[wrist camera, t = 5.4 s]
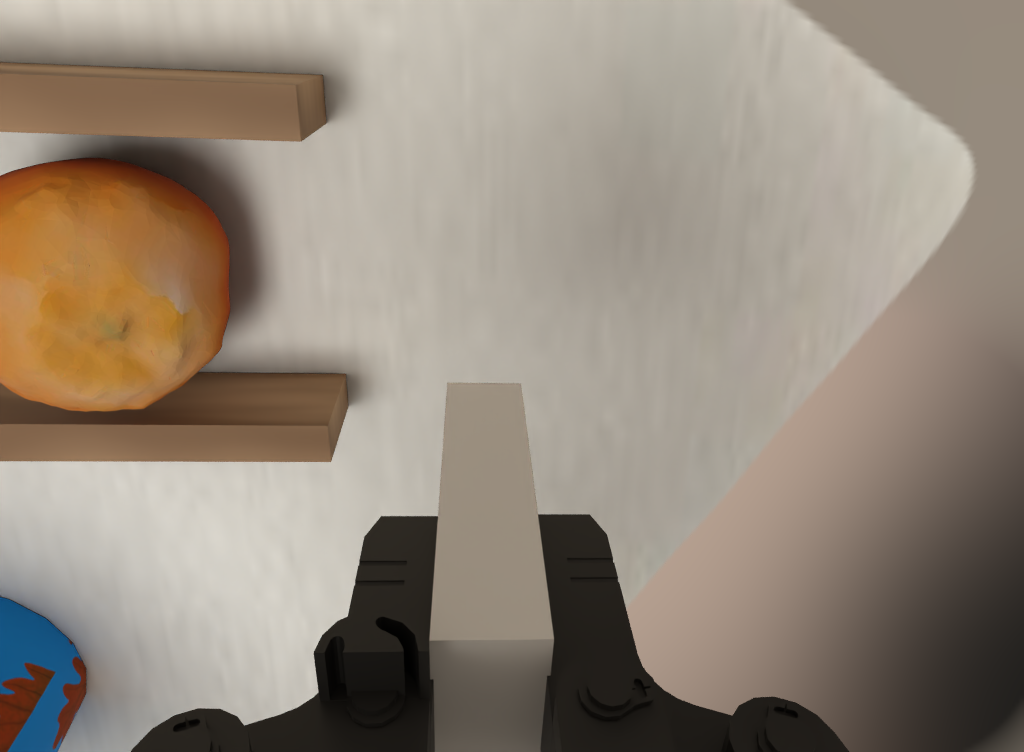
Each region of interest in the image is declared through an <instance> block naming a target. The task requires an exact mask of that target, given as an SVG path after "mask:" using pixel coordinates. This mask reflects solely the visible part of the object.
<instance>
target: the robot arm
mask: <svg viewBox="0 0 1024 752" xmlns="http://www.w3.org/2000/svg"><path fill="white" fill-rule="evenodd" d="M314 659H315V667H316V675H317V682H318V690H319V693H318V694H317V695H316V696H315V697H313V698H312V699H310V700H309V701H307V702H306V703H304V704H303V705H301V706H300V707H298V708H295V709H293V710H291V711H288V712H286V713H283V714H281V715H278V716H274V717H271V718H268V719H265V720H261V721H258V722H255V723H252V724H248V725H245V726H244V725H243V724H242V722H241V721H240V720H239V718H238V717H237V716H235V715H232V714H230V713H228V712H226V711H223V710H221V709H195V710H192V711H188V712H185V713H181V714H178V715H175V716H173V717H171V718H170V719H168V720H166V721H165V722H163V723H161V724H160V725H158V726H156V727H155V728H153V729H152V730H151V731H150V732H149V733H148V734H147V735H146V736H145V737H144V738H143V739H142V740H141V741H140V742H139V743H138V744H137V745H136V746H135V747H134V748H133V749H132V751H131V752H849V751H848V750H847V748H846V747H845V746H844V744H843V743H842V742H841V741H840V739H839V738H838V737H837V735H836V734H835V732H833V731H832V729H830V728H829V727H828V726H827V725H826V724H825V723H824V722H823V721H822V720H821V719H820V718H819V717H818V716H817V715H816V714H814V713H813V712H811V711H809V710H808V709H806V708H804V707H802V706H801V705H799V704H797V703H795V702H791V701H788V700H784V699H780V698H777V697H760V698H753V699H751V700H749V701H747V702H745V703H743V704H741V705H739V706H738V708H737V710H736V711H735V713H734V714H733V716H731V715H728V714H724V713H721V712H717V711H713V710H710V709H706V708H703V707H699V706H696V705H693V704H690V703H688V702H685V701H682V700H680V699H677V698H676V697H674V696H673V695H671V694H669V693H668V692H666V691H664V690H663V689H662V688H661V687H660V686H659V685H657V684H656V683H655V682H654V680H653V678H652V677H651V676H650V675H649V674H648V673H647V672H646V671H645V669H644V668H643V666H642V664H641V662H640V659H639V656H638V654H637V650H636V646H635V642H634V639H633V634H632V630H631V627H630V623H629V619H628V615H627V611H626V607H625V603H624V599H623V595H622V592H621V588H620V584H619V582H618V576H617V572H616V568H615V564H614V563H613V557H612V553H611V549H610V545H609V541H608V537H607V534H606V533H605V532H604V531H603V530H602V528H601V527H600V526H599V525H598V524H597V523H596V521H595V520H594V519H593V518H592V517H591V516H590V515H538V512H537V504H536V496H535V488H534V481H533V473H532V465H531V457H530V450H529V442H528V434H527V427H526V419H525V411H524V403H523V396H522V388H521V384H516V383H447V396H446V411H445V425H444V439H443V453H442V468H441V482H440V496H439V510H438V516H381V517H380V519H379V520H378V521H377V522H376V523H375V525H374V526H373V527H372V528H371V530H370V531H369V532H368V533H367V535H366V536H365V537H364V542H363V546H362V551H361V556H360V563H359V566H358V570H357V575H356V580H355V586H354V590H353V594H352V599H351V604H350V609H349V614H348V617H346V618H344V619H341V620H339V621H337V622H336V623H335V624H334V625H333V626H332V627H331V628H330V629H329V630H328V631H327V632H325V633H324V634H323V635H322V637H321V639H320V641H319V643H318V645H317V647H316V649H315V651H314Z"/></svg>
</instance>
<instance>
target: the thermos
mask: <svg viewBox="0 0 1024 752" xmlns="http://www.w3.org/2000/svg"><path fill="white" fill-rule="evenodd" d="M85 695H86V667H85V666H84V664H83V662H82V660H81V658H80V656H79V654H78V652H77V650H76V648H75V646H74V645H73V643H72V642H71V641H70V640H69V639H68V638H67V637H66V636H65V635H64V634H62V633H61V632H60V631H59V630H58V629H57V628H56V627H55V626H54V625H53V624H51V623H50V622H49V621H48V620H47V619H46V618H44V617H42V616H40V615H38V614H36V613H34V612H33V611H31V610H29V609H27V608H25V607H23V606H21V605H19V604H17V603H15V602H13V601H11V600H9V599H6V598H2V597H0V752H57V751H58V749H59V747H60V745H61V743H62V741H63V739H64V737H65V735H66V733H67V731H68V729H69V727H70V725H71V723H72V721H73V719H74V717H75V715H76V713H77V711H78V709H79V707H80V705H81V703H82V701H83V699H84V697H85Z"/></svg>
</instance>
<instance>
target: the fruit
mask: <svg viewBox="0 0 1024 752" xmlns="http://www.w3.org/2000/svg"><path fill="white" fill-rule="evenodd" d="M229 253H230V250H229V243H228V238H227V236H226V234H225V232H224V230H223V228H222V226H221V223H220V221H219V220H218V218H217V217H216V215H215V214H214V212H213V211H212V210H211V209H210V207H209V206H208V205H207V204H206V203H205V202H203V201H202V200H201V199H200V198H199V197H198V196H197V195H195V194H194V193H192V192H190V191H189V190H187V189H186V188H185V187H184V186H182V185H180V184H179V183H177V182H175V181H173V180H171V179H170V178H167V177H165V176H163V175H160V174H158V173H155V172H153V171H150V170H147V169H145V168H142V167H139V166H137V165H134V164H131V163H127V162H123V161H118V160H113V159H105V158H80V159H70V160H62V161H55V162H49V163H43V164H38V165H34V166H30V167H26V168H22V169H18V170H14V171H11V172H8V173H6V174H3V175H1V176H0V383H1V384H3V385H4V386H5V387H7V388H8V389H9V390H11V391H12V392H14V393H16V394H18V395H19V396H21V397H23V398H25V399H28V400H31V401H37V402H42V403H45V404H47V405H50V406H56V407H59V408H63V409H66V410H72V411H84V412H88V411H116V410H122V409H134V410H135V409H144V408H146V407H148V406H149V405H151V404H153V403H154V402H156V401H158V400H160V399H162V398H163V397H164V396H166V395H167V394H168V393H170V392H172V391H174V390H176V389H178V388H179V387H181V386H183V385H184V384H185V383H186V382H187V381H188V380H189V379H190V378H191V377H193V376H194V375H195V374H196V373H197V372H198V371H199V370H200V369H201V368H202V367H204V366H205V365H206V364H208V363H209V362H210V361H211V359H212V358H213V357H214V356H215V355H216V354H217V353H218V352H219V351H220V349H221V347H222V340H223V335H224V332H225V328H226V325H227V321H228V317H229V314H230V300H229Z"/></svg>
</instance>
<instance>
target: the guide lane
mask: <svg viewBox="0 0 1024 752" xmlns="http://www.w3.org/2000/svg"><path fill="white" fill-rule="evenodd" d="M325 124H326V110H325V97H324V84H323V75H311V74H285V73H260V72H234V71H209V70H183V69H158V68H132V67H106V66H81V65H55V64H30V63H4V62H0V132H26V133H56V134H87V135H117V136H148V137H179V138H209V139H240V140H270V141H302V140H304V139H305V138H307V137H308V136H309V135H311V134H312V133H314V132H315V131H316V130H318V129H319V128H321V127H322V126H323V125H325ZM347 409H348V397H347V384H346V374H298V373H203V372H197V373H196V374H195V375H194V376H193V377H191V378H190V379H189V380H188V381H187V382H186V383H185V384H184V385H183V386H181V387H179V388H178V389H176V390H174V391H172V392H170V393H168V394H167V395H166V396H164V397H163V398H162V399H160V400H158V401H156V402H154V403H153V404H151V405H149V406H148V407H146V408H144V409H135V410H134V409H122V410H116V411H88V412H84V411H72V410H66V409H63V408H59V407H56V406H50V405H47V404H45V403H42V402H37V401H31V400H28V399H25V398H23V397H21V396H19V395H18V394H16V393H14V392H12V391H11V390H9V389H8V388H7V387H5V386H4V385H3V384H1V383H0V461H193V462H331V460H332V457H333V454H334V451H335V448H336V444H337V441H338V438H339V435H340V432H341V428H342V425H343V422H344V419H345V416H346V412H347Z"/></svg>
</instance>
